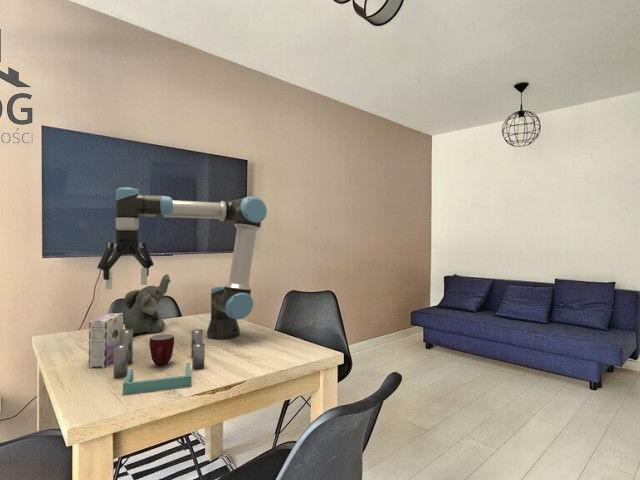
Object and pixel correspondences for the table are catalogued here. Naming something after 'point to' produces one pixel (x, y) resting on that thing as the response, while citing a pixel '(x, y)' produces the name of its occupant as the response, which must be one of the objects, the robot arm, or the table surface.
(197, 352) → the cylinder
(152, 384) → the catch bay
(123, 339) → the spacer back right
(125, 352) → the spacer front right
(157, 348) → the mug
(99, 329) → the candy box
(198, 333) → the cylinder
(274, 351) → the table surface
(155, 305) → the stuffed elephant
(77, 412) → the table surface
